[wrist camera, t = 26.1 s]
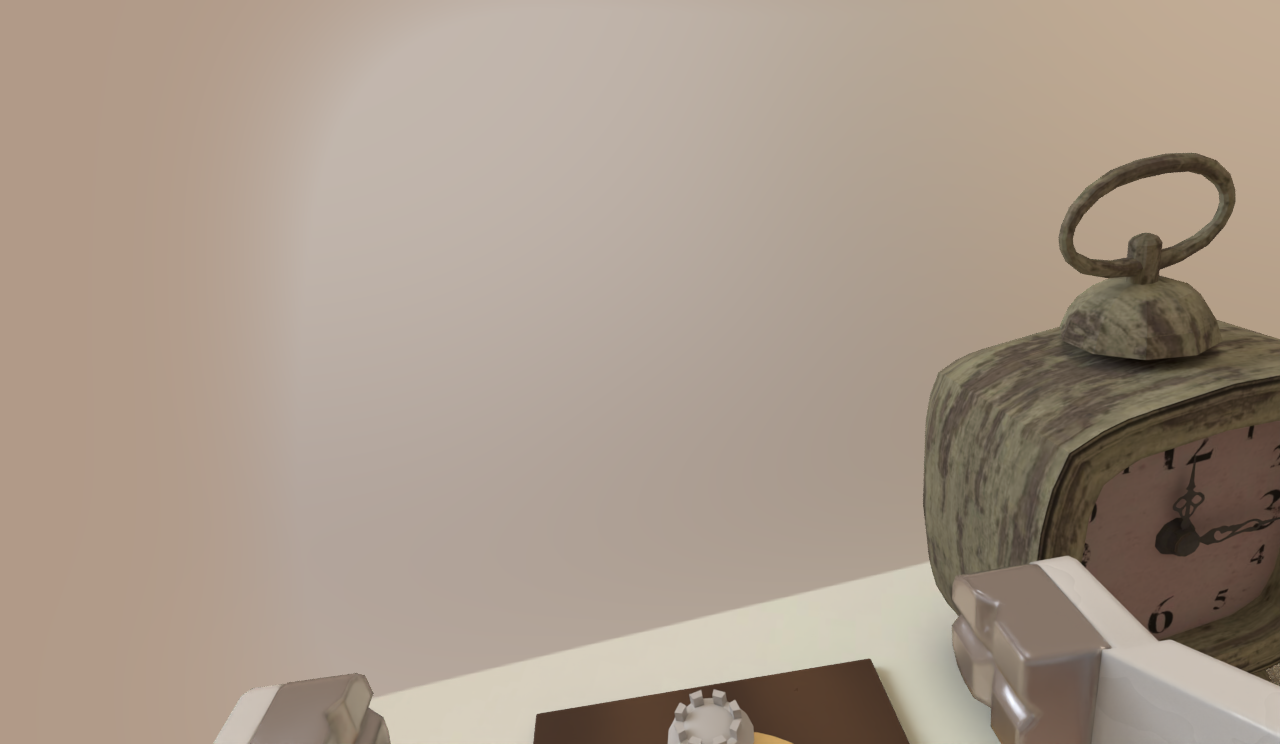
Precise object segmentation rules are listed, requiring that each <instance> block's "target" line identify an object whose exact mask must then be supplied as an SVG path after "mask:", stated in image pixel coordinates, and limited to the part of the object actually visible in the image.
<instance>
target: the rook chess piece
mask: <svg viewBox="0 0 1280 744" xmlns="http://www.w3.org/2000/svg"><path fill="white" fill-rule="evenodd" d="M689 696H690V701H691V704H689V705H688V706H687V707H686V705H684V704H682V703H679V705H678V707H677V709H676V711H675V712H674V713H675V719H674V721H673V723H672V725H671V726H670V728H669V732H668V744H753V743H754V728H753V725H752V723H751V721H750V719H749V717H748V716H747V714H746V713H745V712H744V711H742V710H741V709H740V708H739V706H738V704H737V702H736V700H734V701H732V702H727V698H726V693H725V692H722V691H718V690H715V689H714V690H713V694H712V697H713V698H705V699H703V697H702V692H701V690H700V691H697V692H694V693H692V694H689Z"/></svg>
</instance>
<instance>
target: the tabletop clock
mask: <svg viewBox="0 0 1280 744" xmlns="http://www.w3.org/2000/svg"><path fill="white" fill-rule="evenodd" d="M1186 171H1189V172H1193V173H1197V174H1201V175H1203V176H1204V177H1206V178H1207V179H1208V180H1209V181H1211V182H1212V183H1213V184H1214V185H1215V186H1216V188H1217V190H1218V192H1219V200H1220V203H1219V206H1218V209H1217V212H1216V214H1215V216H1214V218H1213V219H1212V221H1211V222H1210V223H1209V224H1207V225H1206V226H1205V227H1204V228H1202V229H1201V230H1200V231H1199V232H1198V233H1196V234H1195V235H1194V236H1192V237H1190V238H1188V239H1186V240H1184V241H1182V242H1180V243H1178V244H1177V245H1174V246H1172V247H1169V248H1165V249H1162V241H1161V240H1160V238H1159V237H1158V236H1157V235H1154V234H1151V233H1142V234H1139V235H1136V236H1134V237H1132V239H1131V240H1130V241H1129V243H1128V254H1127V258H1122V259H1117V260H1111V261H1108V260H1096V259H1089V258H1087V257H1085V256H1083V255H1081V254H1079V253H1077V252H1076V250H1075V248H1074V245H1073V235H1074V232H1075V228H1076V226H1077V225H1078V223H1079V222H1080V220H1081V218H1082V217H1083V215H1084V214H1085V213H1086V212H1087V211H1088V210H1089V209H1090V207H1092V206H1093V204H1094V203H1095V202H1096V201H1097V200H1098V199H1099V198H1101V197H1103V196H1104V195H1105V194H1107V193H1109V192H1110V191H1112V190H1114V189H1115V188H1117V187H1119V186H1122V185H1125V184H1127V183H1130V182H1133V181H1136V180H1139V179H1142V178H1146V177H1151V176H1156V175H1160V174H1165V173H1173V172H1186ZM1234 204H1235V188H1234V184H1233V181H1232V178H1231V175H1230V173H1229V172H1228V171H1227V170H1226V169H1225V168H1224V167H1223V166H1222V165H1220V163H1219V162H1218V161H1216V160H1214V159H1211V158H1208V157H1205V156H1202V155H1200V154H1196V153H1175V154H1163V155H1158V156H1153V157H1149V158H1144V159H1140V160H1136V161H1133V162H1131V163H1128V164H1126V165H1123V166H1120V167H1118V168H1116V169H1113V170H1110V171H1109V172H1107V173H1106V174H1105V175H1103V176H1102V177H1100V178H1099V179H1098V180H1096V181H1095V182H1094V183H1092V184H1091V185H1090V186H1088V187H1087V188H1086V189H1085V190H1084V191H1083V192H1082V193H1081V195H1080V196H1079V197H1078V198H1077V199H1076V201H1074V203H1073V204H1072V205H1071V206H1070V208H1069V210H1068V212H1067V214H1066V216H1065V218H1064V220H1063V223H1062V225H1061V229H1060V234H1059V246H1060V250H1061V253H1062V255H1063V257H1064V259H1065V261H1066V262H1067V263H1068V264H1070V265H1071V266H1072V267H1073V268H1075V269H1076V270H1077V271H1079V272H1080V273H1082V274H1086V275H1092V276H1098V277H1105V278H1109V279H1106V280H1104V281H1102V282H1099V283H1097V284H1095V285H1093V286H1091V287H1090V288H1088V289H1087V290H1086V291H1084V292H1083V293H1082V294H1080V295H1079V296H1078V297H1077V298H1076V299H1075V300H1074V302H1073V303H1072V304H1071V305H1070V306H1069V308H1068V309H1067V311H1066V314H1065V316H1064V318H1063V320H1062V322H1061V325H1060V327H1057V328H1054V329H1050V330H1047V331H1043V332H1040V333H1036V334H1033V335H1030V336H1026V337H1023V338H1019V339H1016V340H1012V341H1009V342H1006V343H1002V344H999V345H995V346H992V347H988V348H986V349H982V350H979V351H976V352H973V353H971V354H968V355H966V356H964V357H962V358H960V359H958V360H956V361H954V362H953V363H952V364H950V365H949V366H947V367H946V368H944V369H943V370H942V371H940V372H939V373H938V375H937V378H936V381H935V383H934V386H933V389H932V391H931V394H930V399H929V405H928V410H927V417H926V431H925V457H924V458H925V459H924V488H923V491H924V493H923V507H924V516H925V525H926V534H927V544H928V552H929V560H930V564H931V568H932V572H933V575H934V579H935V582H936V585H937V587H938V588H939V590H940V592H941V593H942V595H943V597H944V598H945V600H946V602H947V603H948V604H949V606H950V607H951V608H952V609H953V610H954V611H955V612H956V614H957V615H958V616H960V614H961V612H960V610H959V609H958V607H957V606H956V604H955V603H954V601H953V600H952V589H953V582H954V579H955V577H956V576H957V575H962V574H968V573H974V572H980V571H986V570H992V569H998V568H1003V567H1009V566H1015V565H1021V564H1029V563H1031V562H1035V561H1040V560H1046V559H1052V558H1057V557H1063V556H1070V557H1072V558H1075V559H1077V560H1078V561H1079V562H1080V563H1081V564H1082V565H1083V566H1084V567H1085V568H1086V569H1087V570H1088V571H1089V572H1090V573H1091V574H1092V575H1093V576H1094V577H1095V578H1096V579H1097V580H1098V581H1099V582H1100V583H1101V584H1102V585H1103V586H1104V587H1105V588H1106V589H1107V590H1108V591H1109V592H1110V593H1111V594H1112V595H1113V596H1114V597H1115V598H1116V599H1117V600H1118V601H1119V602H1120V603H1121V604H1122V605H1123V606H1124V607H1125V608H1126V609H1127V610H1128V611H1129V612H1130V613H1131V614H1132V615H1133V616H1134V617H1135V618H1136V619H1137V620H1138V621H1139V622H1140V623H1141V624H1142V625H1143V626H1144V627H1145V628H1146V629H1147V630H1148V631H1149V632H1150V633H1151V634H1152V635H1153V636H1154V637H1155V638H1156V639H1157V640H1158V641H1164V640H1173V641H1176V642H1178V643H1180V644H1183V645H1185V646H1187V647H1190V648H1192V649H1194V650H1197V651H1199V652H1201V653H1204V654H1206V655H1208V656H1211V657H1213V658H1215V659H1218V660H1220V661H1222V662H1225V663H1227V664H1229V665H1231V666H1234V667H1236V668H1238V669H1241V670H1243V671H1245V672H1248V673H1250V674H1252V675H1255V676H1257V677H1259V678H1262V679H1264V680H1266V681H1269V682H1271V680H1270V678H1269V676H1268V674H1267V672H1266V670H1265V669H1267V668H1270V667H1272V666H1274V665H1276V664H1278V663H1280V339H1277V338H1274V337H1271V336H1267V335H1264V334H1261V333H1257V332H1254V331H1251V330H1248V329H1245V328H1241V327H1238V326H1235V325H1232V324H1228V323H1225V322H1222V321H1219V320H1216V318H1215V317H1214V315H1213V314H1212V312H1211V310H1210V308H1209V307H1208V305H1207V303H1206V302H1205V300H1204V299H1203V297H1202V296H1201V294H1200V293H1199V292H1198V291H1196V290H1195V289H1194V288H1193V287H1192V286H1190V285H1189V284H1188V283H1184V282H1181V281H1177V280H1174V279H1170V278H1166V277H1162V276H1159V270H1160V269H1163V268H1165V267H1168V266H1171V265H1173V264H1176V263H1178V262H1180V261H1182V260H1184V259H1186V258H1187V257H1189V256H1191V255H1192V254H1194V253H1196V252H1197V251H1199V250H1200V249H1202V248H1204V247H1206V246H1207V245H1208V244H1209V243H1210V242H1211V241H1212V240H1213V239H1214V238H1215V237H1216V235H1217V234H1218V233H1219V232H1220V231H1221V230H1222V229H1223V228H1224V226H1225V225H1226V223H1227V221H1228V219H1229V217H1230V216H1231V214H1232V211H1233V208H1234Z"/></svg>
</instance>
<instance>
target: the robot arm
mask: <svg viewBox="0 0 1280 744" xmlns="http://www.w3.org/2000/svg"><path fill="white" fill-rule="evenodd" d="M952 600H953V601H954V603H955V604H956V606H957V607H958V609H959V610H960V612H961V614H960V616H959V617H958V618H957V619H956V621H955V622H954V623H953V625H952V641H953V649H954V653H955V657H956V661H957V665H958V668H959V670H960V672H961V675H962V677H963V679H964V682H965V683H966V685H967V687H968V689H969V690H970V692H971V694H972V696H973V697H974V698H975V699H977V700H978V701H980V702H982V703H983V704H985V705H987V706H988V707H990V708H991V727H992V729H993V731H994V732H995V734H996V736H997V737H998V739H999V741H1000V742H1001V744H1280V686H1278V685H1276V684H1273V683H1271V682H1269V681H1266V680H1264V679H1262V678H1259V677H1257V676H1255V675H1252V674H1250V673H1248V672H1245V671H1243V670H1241V669H1238V668H1236V667H1234V666H1231V665H1229V664H1227V663H1225V662H1222V661H1220V660H1218V659H1215V658H1213V657H1211V656H1208V655H1206V654H1204V653H1201V652H1199V651H1197V650H1194V649H1192V648H1190V647H1187V646H1185V645H1183V644H1180V643H1178V642H1176V641H1173V640H1164V641H1158V640H1157V639H1156V638H1155V637H1154V636H1153V635H1152V634H1151V633H1150V632H1149V631H1148V630H1147V629H1146V628H1145V627H1144V626H1143V625H1142V624H1141V623H1140V622H1139V621H1138V620H1137V619H1136V618H1135V617H1134V616H1133V615H1132V614H1131V613H1130V612H1129V611H1128V610H1127V609H1126V608H1125V607H1124V606H1123V605H1122V604H1121V603H1120V602H1119V601H1118V600H1117V599H1116V598H1115V597H1114V596H1113V595H1112V594H1111V593H1110V592H1109V591H1108V590H1107V589H1106V588H1105V587H1104V586H1103V585H1102V584H1101V583H1100V582H1099V581H1098V580H1097V579H1096V578H1095V577H1094V576H1093V575H1092V574H1091V573H1090V572H1089V571H1088V570H1087V569H1086V568H1085V567H1084V566H1083V565H1082V564H1081V563H1080V562H1079V561H1078V560H1077V559H1075V558H1072V557H1070V556H1063V557H1057V558H1052V559H1046V560H1040V561H1035V562H1031V563H1029V564H1021V565H1015V566H1009V567H1003V568H998V569H992V570H986V571H980V572H974V573H968V574H962V575H957V576H956V577H955V579H954V582H953V589H952ZM372 696H373V691H372V689H371V687H370V685H369V683H368V681H367V679H366V677H365V675H361V674H358V673H355V674H347V675H340V676H333V677H326V678H318V679H312V680H304V681H297V682H289V683H287V684H281V685H273V686H266V687H258V688H252V689H250V690H249V691H248V692H246V693H245V694H243V695H242V696H241V697H240V699H239V701H238V702H237V704H236V706H235V707H234V709H233V711H232V713H231V714H230V716H229V718H228V719H227V721H226V723H225V725H224V726H223V728H222V730H221V731H220V733H219V735H218V736H217V738H216V740H215V741H214V743H213V744H391V743H390V737H389V731H388V728H387V726H386V723H385V720H384V718H383V717H382V716H381V715H379V714H378V713H376V712H374V711H373V710H371V709H370V708H368V707H369V704H370V701H371V698H372Z"/></svg>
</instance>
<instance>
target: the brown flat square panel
mask: <svg viewBox="0 0 1280 744" xmlns="http://www.w3.org/2000/svg"><path fill="white" fill-rule="evenodd" d="M714 689H715V690H718V691H722V692H725V693H726V698H727V702H732V701H734V700H736V702H737V704H738V706H739V708H740V709H741V710H742V711H744V712H745V713H746V714H747V716H748V717H749V719H750V721H751V723H752V725H753V728H754V743H753V744H909V742H908V739H907V737H906V735H905V733H904V731H903V729H902V726H901V724H900V722H899V720H898V718H897V716H896V713H895V711H894V709H893V707H892V705H891V702H890V700H889V698H888V696H887V694H886V692H885V689H884V687H883V685H882V683H881V681H880V679H879V676H878V674H877V672H876V670H875V668H874V665H873V663H872V661H871V659H864V660H858V661H852V662H846V663H840V664H834V665H828V666H822V667H816V668H810V669H804V670H798V671H792V672H786V673H780V674H774V675H768V676H762V677H756V678H750V679H744V680H738V681H732V682H726V683H720V684H714V685H708V686H702V687H696V688H690V689H684V690H678V691H672V692H666V693H660V694H654V695H648V696H642V697H636V698H630V699H624V700H618V701H612V702H606V703H600V704H594V705H588V706H582V707H576V708H570V709H564V710H558V711H552V712H546V713H540V714H537V715H536V723H535V732H534V742H533V744H668V732H669V728H670V726H671V725H672V723H673V721H674V719H675V713H674V712H675V711H676V709H677V707H678V705H679V703H682V704H684V705H686V707H687V706H688V705H689V704H691V701H690V696H689V694H692V693H694V692H697V691H700V690H701V692H702V697H703V699H705V698H713V697H712V694H713V690H714Z"/></svg>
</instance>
